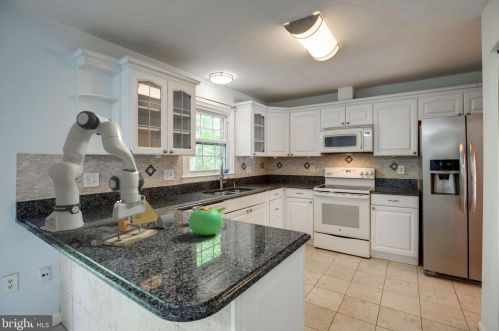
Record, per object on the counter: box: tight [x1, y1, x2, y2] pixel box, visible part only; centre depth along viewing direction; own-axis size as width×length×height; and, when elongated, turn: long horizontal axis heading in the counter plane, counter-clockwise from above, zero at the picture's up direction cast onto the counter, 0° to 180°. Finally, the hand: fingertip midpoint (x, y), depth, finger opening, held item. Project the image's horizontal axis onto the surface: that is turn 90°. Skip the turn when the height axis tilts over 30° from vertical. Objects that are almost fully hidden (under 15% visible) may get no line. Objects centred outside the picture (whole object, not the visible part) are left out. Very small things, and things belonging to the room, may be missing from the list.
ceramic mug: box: [156, 212, 176, 230], centre depth 141 cm, size 11×8×8 cm
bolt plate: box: [103, 228, 158, 248], centre depth 122 cm, size 12×22×2 cm, turn 163°
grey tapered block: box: [90, 226, 138, 247], centre depth 123 cm, size 12×26×7 cm, turn 163°
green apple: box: [188, 206, 227, 236], centre depth 128 cm, size 18×17×15 cm
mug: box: [190, 205, 208, 215], centre depth 149 cm, size 11×8×10 cm
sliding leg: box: [117, 219, 142, 231], centre depth 128 cm, size 12×4×5 cm, turn 73°
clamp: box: [121, 199, 159, 225], centre depth 155 cm, size 20×9×16 cm, turn 136°
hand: (130, 223), depth 133 cm, fingers closed
